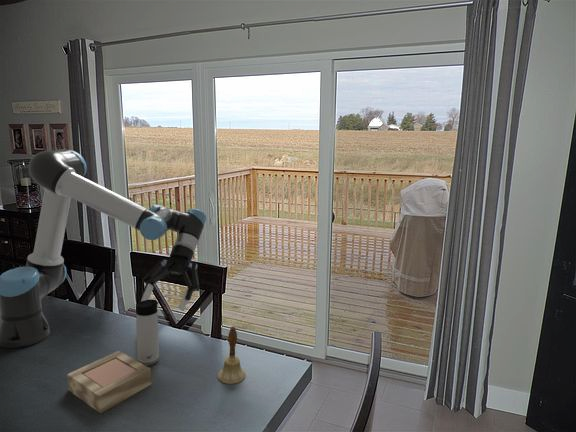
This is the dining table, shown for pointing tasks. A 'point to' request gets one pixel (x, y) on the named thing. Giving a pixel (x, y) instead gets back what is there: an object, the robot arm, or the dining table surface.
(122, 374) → the pink plate
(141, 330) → the travel mug
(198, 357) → the dining table surface
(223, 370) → the hand bell
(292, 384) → the dining table surface
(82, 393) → the wooden tray
